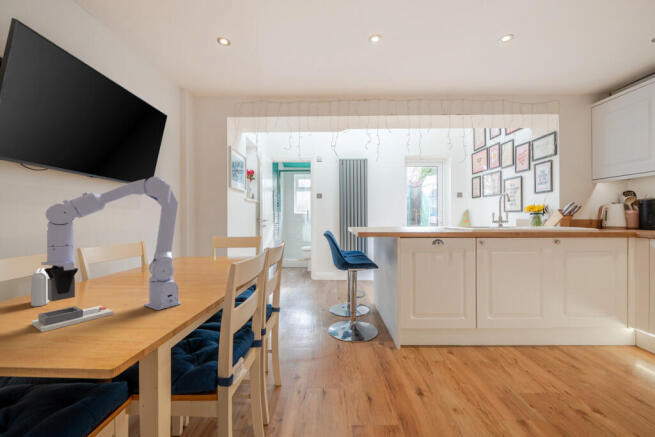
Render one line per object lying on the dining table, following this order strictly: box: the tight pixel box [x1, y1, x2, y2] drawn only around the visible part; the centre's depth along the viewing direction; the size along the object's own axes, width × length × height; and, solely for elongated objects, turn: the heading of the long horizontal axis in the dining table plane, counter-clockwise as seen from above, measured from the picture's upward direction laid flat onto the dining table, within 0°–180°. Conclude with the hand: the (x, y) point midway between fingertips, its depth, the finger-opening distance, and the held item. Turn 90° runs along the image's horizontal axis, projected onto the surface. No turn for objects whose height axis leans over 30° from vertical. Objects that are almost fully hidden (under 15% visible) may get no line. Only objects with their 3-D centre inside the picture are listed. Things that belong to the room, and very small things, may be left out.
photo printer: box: [30, 267, 50, 308], centre depth 98 cm, size 10×4×12 cm, turn 39°
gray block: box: [48, 276, 76, 302], centre depth 80 cm, size 4×5×6 cm
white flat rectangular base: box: [31, 305, 114, 333], centre depth 83 cm, size 10×16×3 cm, turn 148°
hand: (61, 292), depth 80 cm, fingers closed on gray block, 4 cm apart
